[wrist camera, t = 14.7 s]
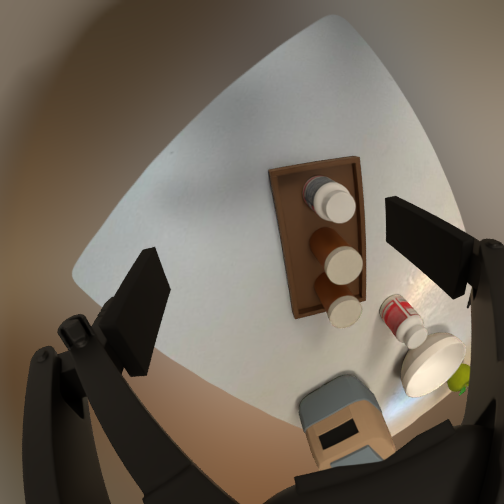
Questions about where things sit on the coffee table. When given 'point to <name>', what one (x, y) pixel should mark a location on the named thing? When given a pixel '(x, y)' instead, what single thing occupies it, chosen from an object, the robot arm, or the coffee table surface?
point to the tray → (315, 227)
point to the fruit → (460, 379)
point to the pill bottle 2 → (403, 321)
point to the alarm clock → (345, 424)
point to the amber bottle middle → (335, 256)
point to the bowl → (431, 363)
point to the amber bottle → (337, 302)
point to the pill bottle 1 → (329, 199)
